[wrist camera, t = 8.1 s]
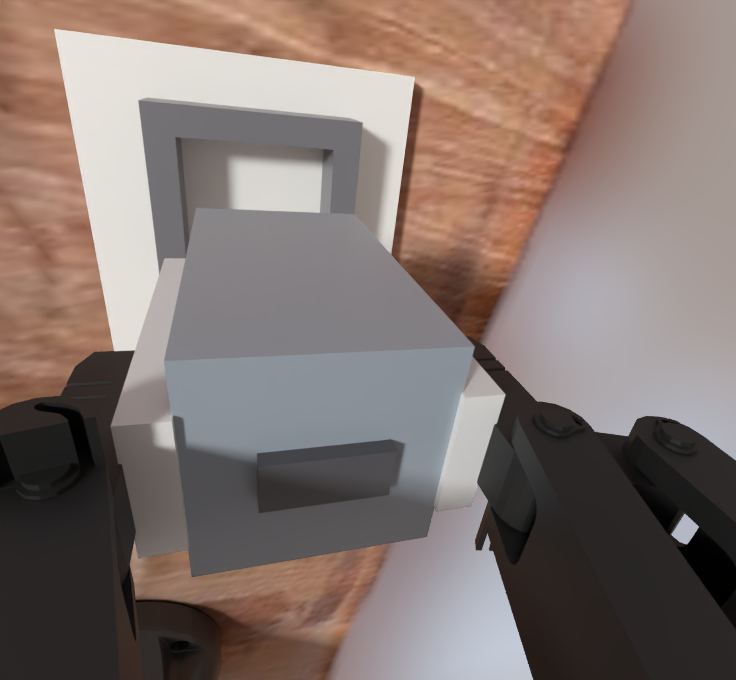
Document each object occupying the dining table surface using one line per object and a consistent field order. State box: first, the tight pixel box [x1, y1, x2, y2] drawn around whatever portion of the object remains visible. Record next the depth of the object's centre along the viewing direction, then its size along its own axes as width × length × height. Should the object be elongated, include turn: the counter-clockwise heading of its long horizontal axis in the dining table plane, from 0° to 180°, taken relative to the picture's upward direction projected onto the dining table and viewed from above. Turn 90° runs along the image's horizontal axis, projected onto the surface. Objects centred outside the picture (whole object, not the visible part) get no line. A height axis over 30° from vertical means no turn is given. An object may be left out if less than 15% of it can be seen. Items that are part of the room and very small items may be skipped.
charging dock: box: [54, 29, 415, 351], centre depth 23 cm, size 16×15×4 cm
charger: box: [164, 208, 475, 577], centre depth 11 cm, size 4×4×8 cm
